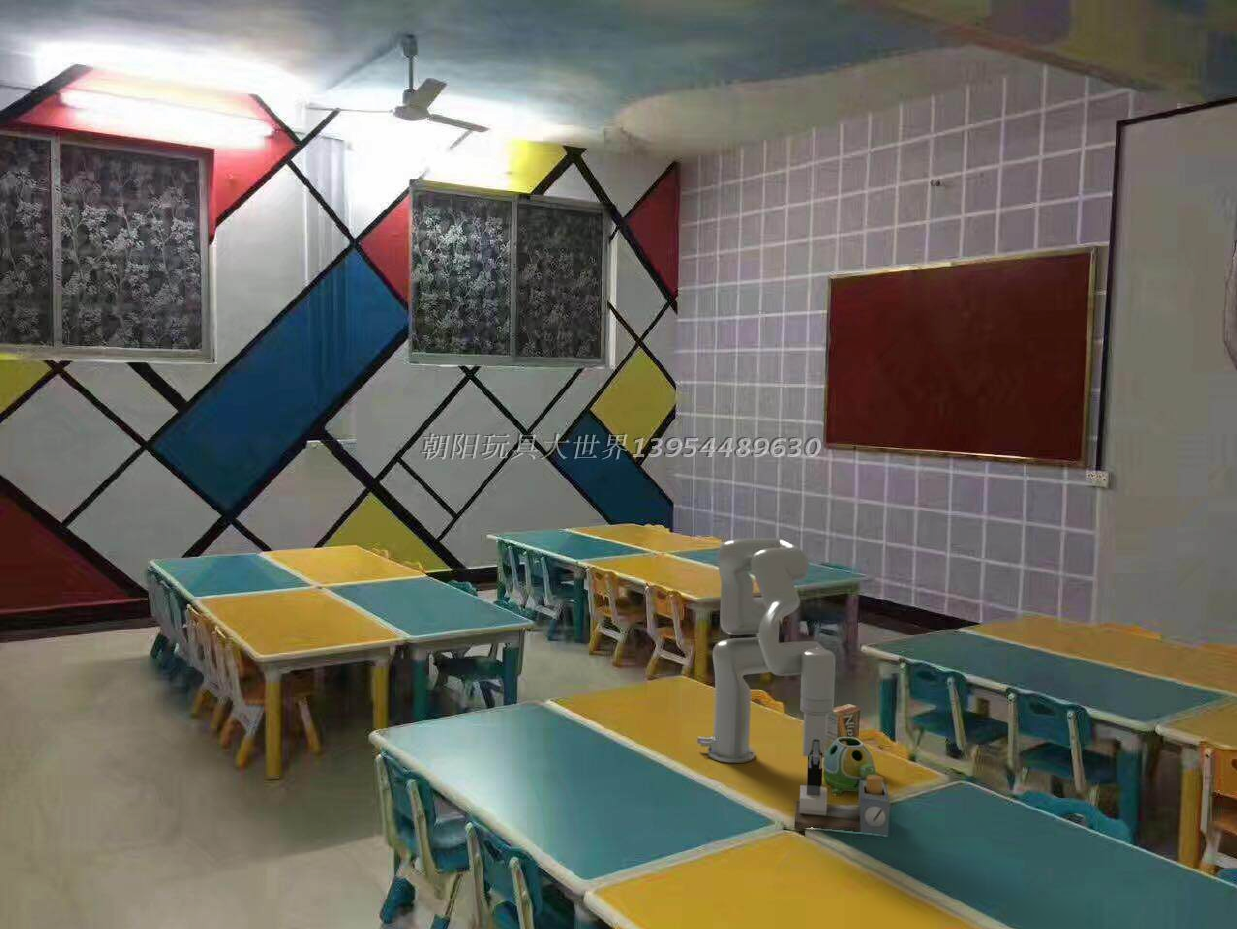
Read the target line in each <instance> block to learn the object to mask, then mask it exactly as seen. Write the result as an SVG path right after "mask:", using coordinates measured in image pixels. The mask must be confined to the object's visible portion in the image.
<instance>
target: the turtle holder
mask: <svg viewBox="0 0 1237 929" xmlns="http://www.w3.org/2000/svg"><path fill="white" fill-rule="evenodd" d="M842 741H845V742H846V744H842V743H840V742H842ZM822 768H823V771H822V779H824V780H823V782H824V783H825V784H826V785H830V786H833V787H834V788H832V789H831V790H830V793H831V794H832V793H833V794H832V795H834V794H836V795H835V796H841V795H842V793H843V791H846V792H847V791H849V792H857V793H859V781H860V780H867V776H868V775H878V773H877V771H876V766H875V762H874V758H873V755H872V754H871V752H870V751H869V750H868V747H866V746H865V745H864V742H863V741H862V740H860V739H857V738H853V737H840V738H837V739H836V741H834V742H833V743H832V744H831V746H830V747H829V748H828V750H827V752H826V751H825V756H824V757H823V761H822Z"/></svg>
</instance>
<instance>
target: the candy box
mask: <svg viewBox="0 0 1237 929" xmlns="http://www.w3.org/2000/svg"><path fill="white" fill-rule="evenodd" d="M860 717H861V708H860V707H859V706H856V705H853V704H849V703H847V704H844V705H841V706H836V707H834V712H833V713H832V714H829V715H828V727H827V741H826V749H825V753H826V752H827V750H828V748H829V747H830V746H831V744H832V743H833V742H834V741H836V739H837V738H840V737H853V738H857V739H859V736H860V719H861V718H860ZM859 740H860V739H859ZM840 743H842V744H846V742H845V741H842V742H840Z"/></svg>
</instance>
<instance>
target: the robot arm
mask: <svg viewBox="0 0 1237 929" xmlns="http://www.w3.org/2000/svg"><path fill="white" fill-rule="evenodd" d="M717 566H718V571H719V576H720V581H721V588H720V589H721V590H720V613H719V618H720V620H719V621H720V627H721V630H722V631H723V632H724V633H726V634H728V635H737V636H738V635H755V634H756V636H755V637H739V638H738V637H737V638H727V639H723V640H720V641H719V642H717V643H716V644H715V646H713V649H712V662H713V668H714V679H715V681H714V683H715V684H714V687H715V690H714V724H713V726H714V727H713V735H712V736H709V737H704V736H697V745H700V747H704V748H706V747H707V755H708V757H710V758H711V759H712V760H715V761H718V762H723V763H730V764H741V763H747V762H750V761H752V760H754V758H755V757H756V756H755V755H756V752H755V750H754V749H753V748H751V747H750V738H751V737H750V735H751V733H750V732H751V731H750V730H751V711H752V710H751V709H752V708H751V705H752V704H751V703H752V692H751V687H750V686H749V684H748V683H747V682H746V680H745V679H744V676H745V675H752V674H753V675H754V674H763V673H764V674H765V673H769V672H771V673H772V674H773V675H775V676H779V677H780V676H793V675H796V676H797V675H800V676H801V678H800V701H799V702H800V703H799V705H800V707H799V709H800V711H801V713H803V714H804V716H803V734H802V738H803V739H802V755H803V757H807V761H808V760H809V767H808V766H807V772H808V778H807V777H806V785H807V784H808V785H811V786H820V787H823V759H824V757H825V754H826V741H827V727H828V715H829V714H832V713H833V712H834V708H835V707H834V705H835V703H834V702H835V683H836V682H835V679H836V655H835V654H834V652H832V651H831V650H829V649H825V648H824V647H823V646H822V645H821V644H820V643H819V642H818V641H813V640H805V641H788V642H780V640H779V639H780V624H781V623H780V620H781V619H783V618H785V617H787V616H789V615H790V614H792V613H793V612H794V611H795V610H797V608H799V605H800V601H801V600H800V597H799V594H798V591H797V589H796V586H795V583H794V582H799V581H804V580H805V579H806V578H807V577H808V575H809V573H810V563H809V559H808V557H807V554H806V553H805V552H804V551H803V550H802V549H801V548H800V547H799V546H797V545H795V544H793V543H791V542H788V541H786V540H784V539H782V538H777V537H766V538H765V537H764V538H760V537H759V538H757V537H756V538H752V537H750V538H736V539H729V540H726V541H724V542H723V543H722V544H721V545H720V547H719V549H718V552H717ZM749 572H752V573H753V575H754V579H755V582H756V586H757V587H758V591H759V593H760V596H761V597H754V589H755V588H754V586H755V585H754V581H753V580H754V579H753V577H752V576H751V575H750V573H749ZM811 764H812V765H811Z"/></svg>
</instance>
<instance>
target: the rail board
mask: <svg viewBox="0 0 1237 929" xmlns="http://www.w3.org/2000/svg"><path fill="white" fill-rule="evenodd" d="M799 808H800V800H795V803H794V824H793V828H794V829H800V830H802V829H801V828H803V830H805V829H804V828H811V827H813V828H821V829H832V830H844V831H853V832H861V827H860V817H859V808H858V806H854V805H844V804H843V805H841V804H832V803H827V811H826V815H816V814H806V813H799Z"/></svg>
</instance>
